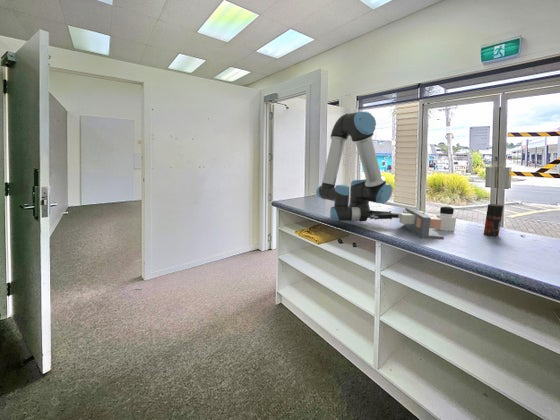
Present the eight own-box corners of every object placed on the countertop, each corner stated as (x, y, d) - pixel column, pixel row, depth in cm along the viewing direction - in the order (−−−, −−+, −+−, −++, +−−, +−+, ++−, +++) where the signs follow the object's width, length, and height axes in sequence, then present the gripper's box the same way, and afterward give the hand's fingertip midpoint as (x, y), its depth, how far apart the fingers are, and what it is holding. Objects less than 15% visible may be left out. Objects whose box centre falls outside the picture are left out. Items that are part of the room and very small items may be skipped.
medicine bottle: (454, 231, 147) (457, 208, 145) (439, 230, 148) (442, 207, 146) (449, 227, 154) (452, 206, 151) (435, 227, 155) (437, 205, 153)
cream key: (402, 223, 144) (402, 215, 143) (399, 221, 148) (400, 213, 148) (421, 224, 143) (422, 215, 142) (418, 222, 148) (419, 213, 147)
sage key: (405, 220, 152) (406, 212, 151) (402, 218, 156) (403, 210, 155) (423, 220, 151) (424, 212, 150) (420, 218, 155) (421, 210, 154)
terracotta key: (419, 228, 136) (420, 218, 135) (416, 225, 140) (417, 216, 139) (440, 228, 135) (441, 219, 134) (436, 226, 139) (437, 217, 139)
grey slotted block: (421, 238, 134) (423, 217, 132) (403, 225, 159) (405, 207, 157) (443, 238, 134) (446, 218, 132) (422, 225, 158) (424, 207, 156)
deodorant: (484, 232, 145) (488, 203, 142) (498, 234, 141) (503, 205, 138) (483, 235, 140) (487, 205, 137) (498, 237, 136) (503, 206, 133)
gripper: (356, 218, 162) (399, 219, 160) (360, 223, 150) (407, 225, 147) (357, 205, 161) (400, 206, 159) (361, 209, 148) (408, 211, 146)
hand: (403, 215), depth 153 cm, fingers closed
